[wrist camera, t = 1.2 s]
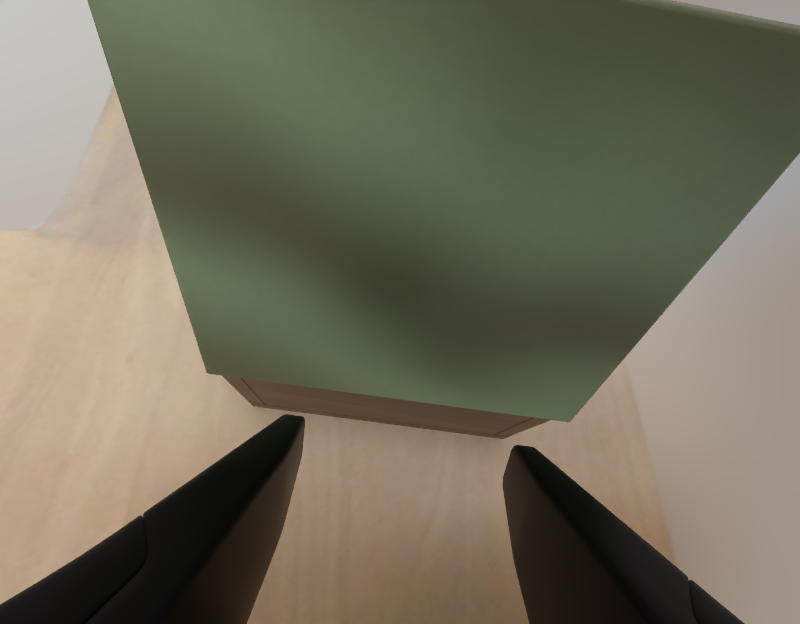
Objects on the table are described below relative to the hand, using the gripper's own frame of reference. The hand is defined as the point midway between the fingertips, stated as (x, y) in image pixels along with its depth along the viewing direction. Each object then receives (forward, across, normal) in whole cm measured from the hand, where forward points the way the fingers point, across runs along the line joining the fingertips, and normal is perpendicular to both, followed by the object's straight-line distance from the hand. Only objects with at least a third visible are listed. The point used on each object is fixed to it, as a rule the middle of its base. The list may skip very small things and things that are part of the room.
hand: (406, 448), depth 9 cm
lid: (+4, 0, -3) cm, 5 cm away
